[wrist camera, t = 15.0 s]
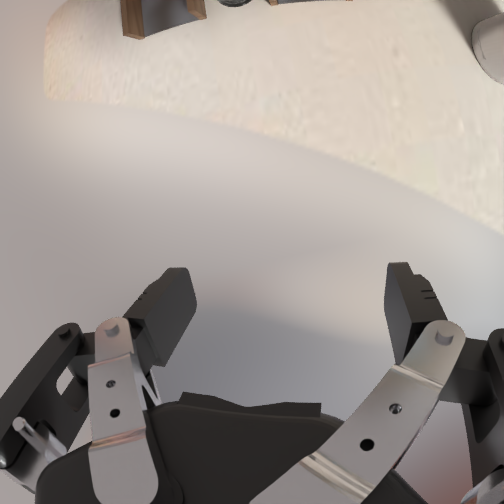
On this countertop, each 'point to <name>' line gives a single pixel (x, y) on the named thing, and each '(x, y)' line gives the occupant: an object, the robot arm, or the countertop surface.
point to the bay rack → (165, 14)
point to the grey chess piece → (234, 2)
